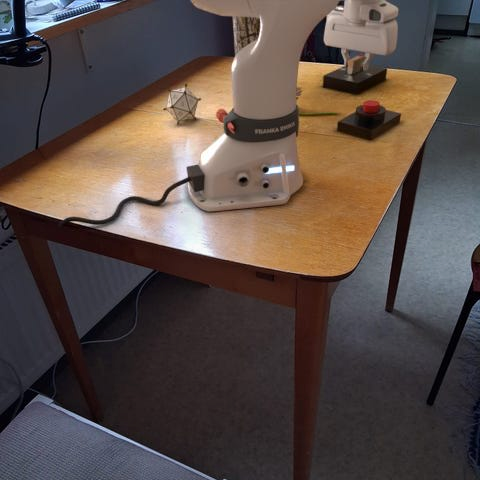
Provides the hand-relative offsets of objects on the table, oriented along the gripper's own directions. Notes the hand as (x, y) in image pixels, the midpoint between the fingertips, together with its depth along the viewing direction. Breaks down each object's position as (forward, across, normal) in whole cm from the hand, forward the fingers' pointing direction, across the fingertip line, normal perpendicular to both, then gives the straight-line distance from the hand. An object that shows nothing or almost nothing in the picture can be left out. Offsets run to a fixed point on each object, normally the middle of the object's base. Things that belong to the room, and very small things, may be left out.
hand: (355, 68), depth 129 cm
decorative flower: (+4, +1, -23) cm, 24 cm away
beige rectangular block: (+1, 0, 0) cm, 1 cm away
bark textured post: (+4, -3, -37) cm, 38 cm away
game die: (+4, -19, -45) cm, 50 cm away
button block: (+4, +19, -23) cm, 30 cm away
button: (0, +19, -23) cm, 30 cm away
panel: (+4, 0, 0) cm, 4 cm away
